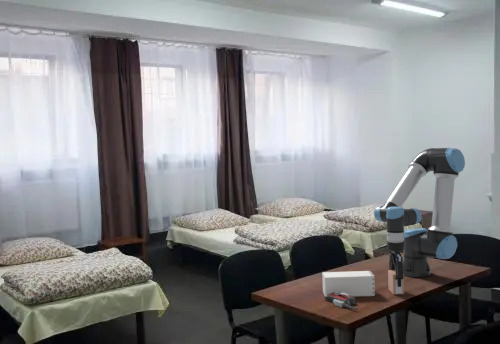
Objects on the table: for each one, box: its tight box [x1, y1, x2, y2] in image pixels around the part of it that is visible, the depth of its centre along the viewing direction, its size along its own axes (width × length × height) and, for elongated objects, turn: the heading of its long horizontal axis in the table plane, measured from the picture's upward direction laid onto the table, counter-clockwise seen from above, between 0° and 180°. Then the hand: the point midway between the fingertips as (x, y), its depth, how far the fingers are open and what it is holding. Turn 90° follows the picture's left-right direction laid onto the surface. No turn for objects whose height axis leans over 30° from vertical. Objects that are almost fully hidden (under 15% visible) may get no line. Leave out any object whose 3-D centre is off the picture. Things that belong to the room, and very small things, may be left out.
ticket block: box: [321, 270, 376, 298], centre depth 235 cm, size 22×9×9 cm, turn 90°
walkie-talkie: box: [324, 292, 359, 311], centre depth 220 cm, size 9×4×20 cm
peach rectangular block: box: [387, 269, 405, 295], centre depth 234 cm, size 5×8×9 cm, turn 0°
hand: (396, 290), depth 235 cm, fingers closed on peach rectangular block, 8 cm apart
